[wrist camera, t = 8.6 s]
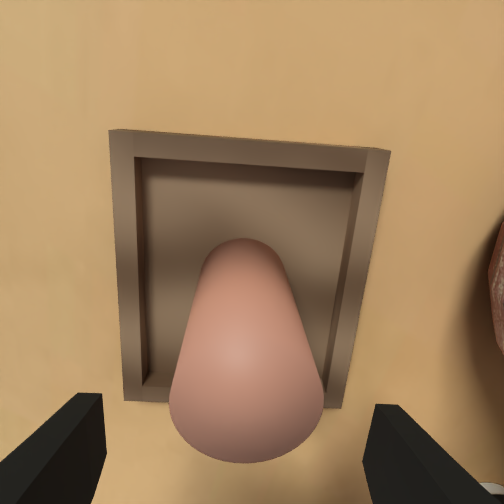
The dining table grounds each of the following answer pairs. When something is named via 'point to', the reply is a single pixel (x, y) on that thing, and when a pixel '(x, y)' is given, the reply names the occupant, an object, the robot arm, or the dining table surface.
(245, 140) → the tray
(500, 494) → the dixie cup
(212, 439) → the dowel
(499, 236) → the pottery
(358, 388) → the dining table surface
